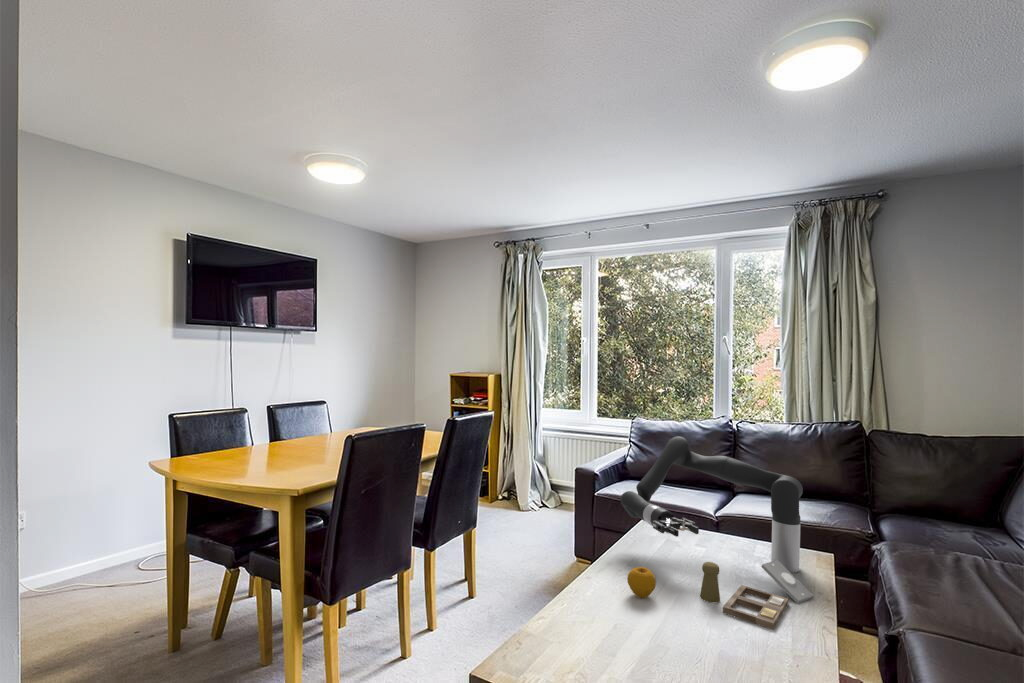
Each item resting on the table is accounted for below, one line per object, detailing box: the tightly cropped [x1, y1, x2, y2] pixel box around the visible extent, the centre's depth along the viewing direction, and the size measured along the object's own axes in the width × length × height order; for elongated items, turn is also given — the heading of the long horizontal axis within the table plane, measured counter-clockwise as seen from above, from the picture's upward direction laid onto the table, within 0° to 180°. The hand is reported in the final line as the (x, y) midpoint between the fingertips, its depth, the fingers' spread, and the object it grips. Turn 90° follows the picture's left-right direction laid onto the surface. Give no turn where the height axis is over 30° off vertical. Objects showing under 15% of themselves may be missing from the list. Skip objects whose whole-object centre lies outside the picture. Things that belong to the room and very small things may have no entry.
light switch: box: [760, 560, 814, 604], centre depth 172 cm, size 8×6×14 cm
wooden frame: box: [722, 584, 789, 630], centre depth 159 cm, size 20×14×2 cm
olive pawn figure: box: [699, 561, 721, 603], centre depth 165 cm, size 6×6×11 cm
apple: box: [626, 566, 657, 599], centre depth 165 cm, size 9×9×9 cm
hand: (687, 532), depth 176 cm, fingers open, 8 cm apart
